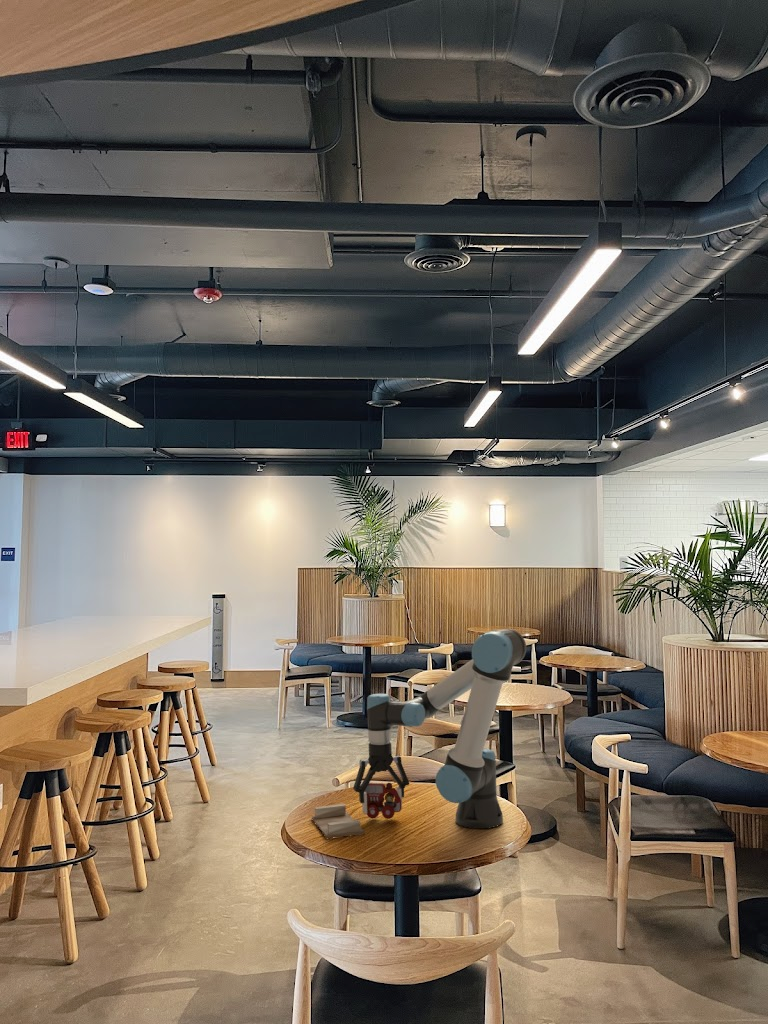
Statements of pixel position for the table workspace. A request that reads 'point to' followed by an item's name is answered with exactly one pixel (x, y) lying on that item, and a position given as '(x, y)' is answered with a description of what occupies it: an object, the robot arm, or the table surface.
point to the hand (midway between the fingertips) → (382, 810)
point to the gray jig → (336, 821)
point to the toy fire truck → (382, 800)
